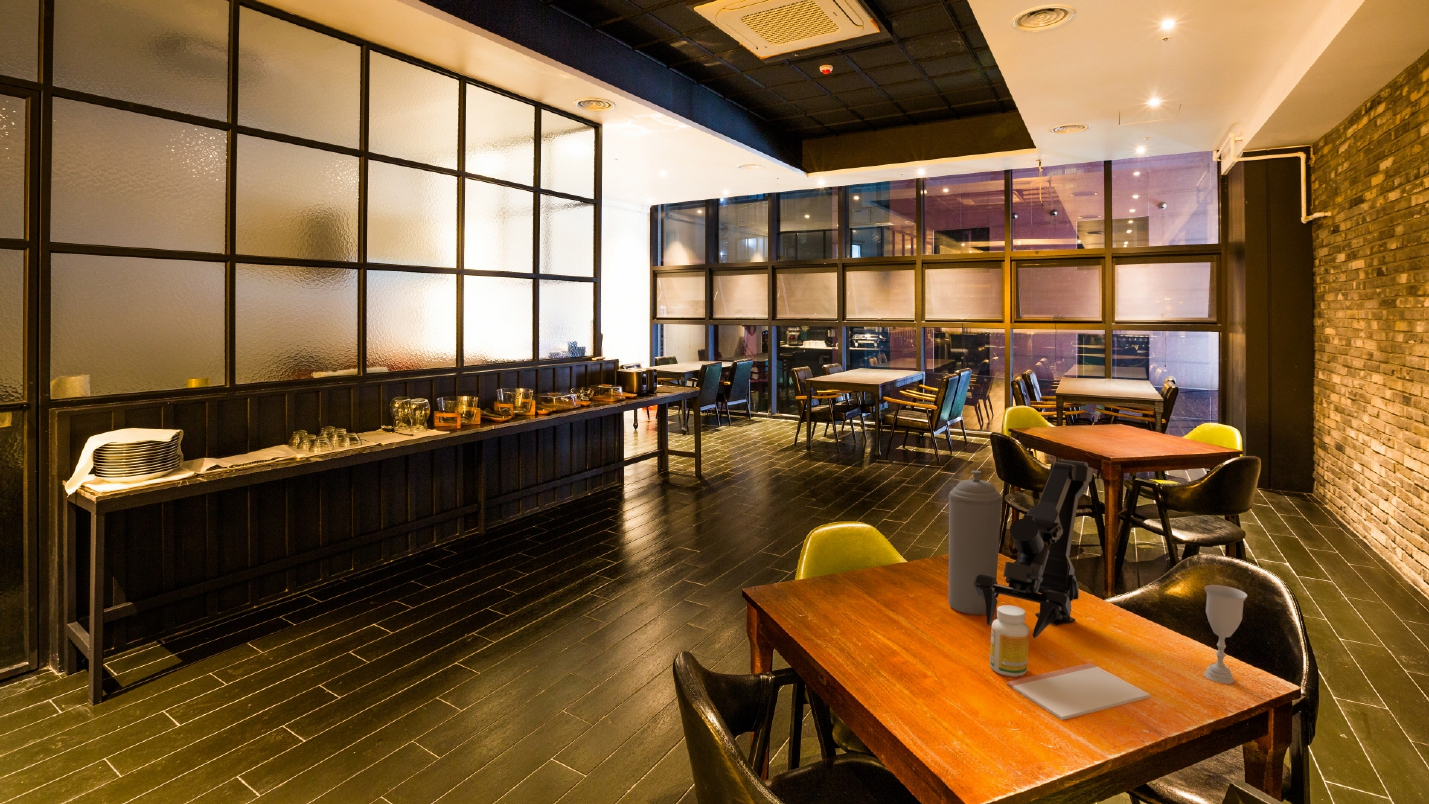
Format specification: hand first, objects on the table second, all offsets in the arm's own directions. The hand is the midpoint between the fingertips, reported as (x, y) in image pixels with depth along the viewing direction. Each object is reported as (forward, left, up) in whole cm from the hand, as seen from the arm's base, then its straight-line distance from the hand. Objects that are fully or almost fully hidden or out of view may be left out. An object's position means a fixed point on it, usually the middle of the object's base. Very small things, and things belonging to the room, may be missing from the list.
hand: (1010, 631), depth 149 cm
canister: (-15, -29, -8) cm, 33 cm away
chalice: (-37, +18, -8) cm, 42 cm away
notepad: (-6, +12, -8) cm, 16 cm away
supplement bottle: (0, 0, -8) cm, 8 cm away
